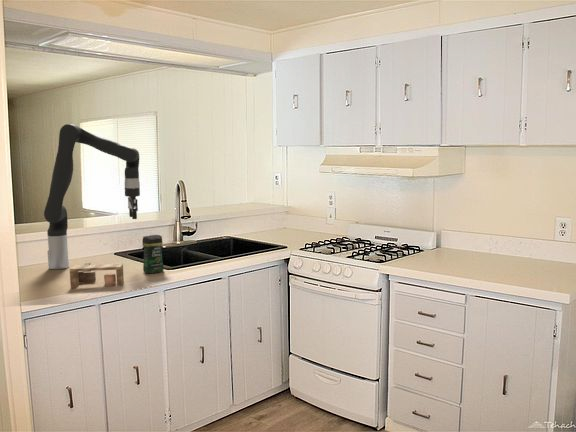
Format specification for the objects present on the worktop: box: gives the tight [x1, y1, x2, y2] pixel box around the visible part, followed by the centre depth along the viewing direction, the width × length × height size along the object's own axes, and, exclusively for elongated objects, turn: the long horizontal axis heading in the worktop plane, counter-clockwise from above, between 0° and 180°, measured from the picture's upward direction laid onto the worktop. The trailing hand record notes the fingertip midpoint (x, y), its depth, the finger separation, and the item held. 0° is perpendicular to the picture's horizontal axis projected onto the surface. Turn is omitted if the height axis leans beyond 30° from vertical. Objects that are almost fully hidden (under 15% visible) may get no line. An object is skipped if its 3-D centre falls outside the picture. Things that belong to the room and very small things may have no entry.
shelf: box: [69, 263, 125, 289], centre depth 249 cm, size 22×7×9 cm, turn 99°
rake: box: [78, 262, 97, 283], centre depth 265 cm, size 8×20×5 cm, turn 10°
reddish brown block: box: [103, 273, 117, 287], centre depth 250 cm, size 5×5×4 cm
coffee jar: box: [141, 234, 164, 274], centre depth 273 cm, size 10×8×19 cm
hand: (133, 218), depth 286 cm, fingers open, 8 cm apart
